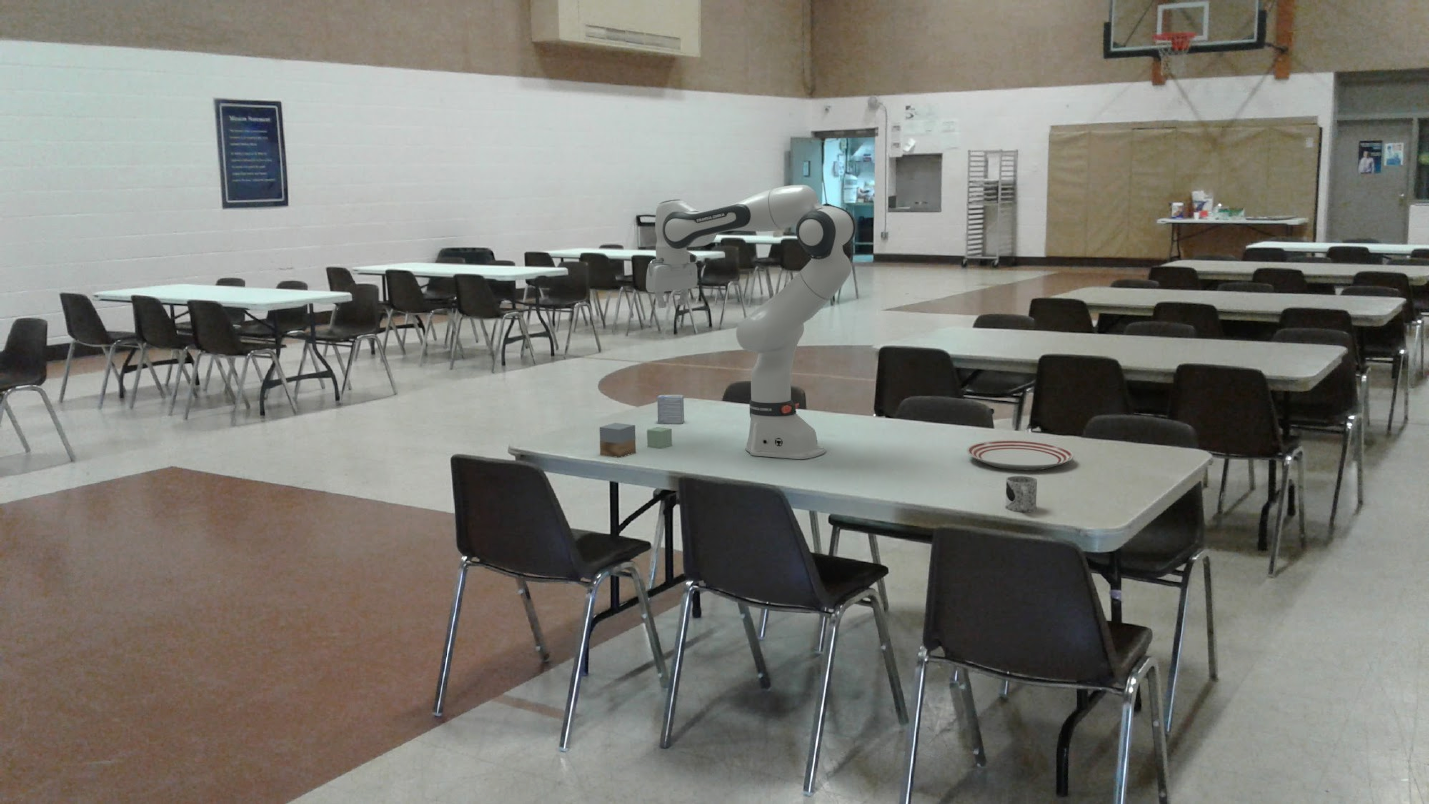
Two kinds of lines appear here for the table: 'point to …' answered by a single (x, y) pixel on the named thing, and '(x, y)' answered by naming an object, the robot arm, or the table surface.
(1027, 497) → the mug
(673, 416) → the medicine box
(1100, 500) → the table surface
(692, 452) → the table surface
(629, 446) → the tower base
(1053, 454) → the dinner plate
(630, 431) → the tower top
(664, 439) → the sage block
